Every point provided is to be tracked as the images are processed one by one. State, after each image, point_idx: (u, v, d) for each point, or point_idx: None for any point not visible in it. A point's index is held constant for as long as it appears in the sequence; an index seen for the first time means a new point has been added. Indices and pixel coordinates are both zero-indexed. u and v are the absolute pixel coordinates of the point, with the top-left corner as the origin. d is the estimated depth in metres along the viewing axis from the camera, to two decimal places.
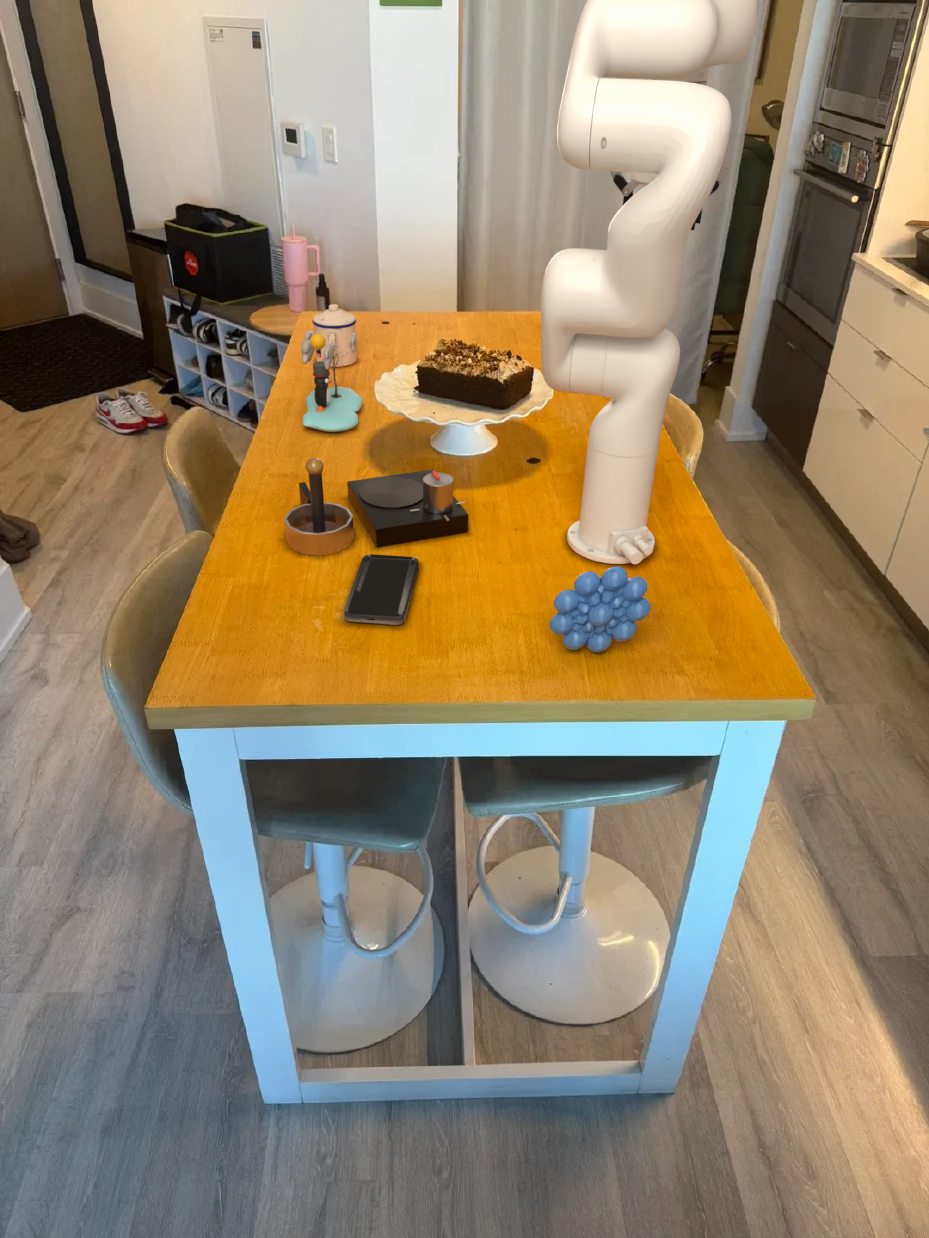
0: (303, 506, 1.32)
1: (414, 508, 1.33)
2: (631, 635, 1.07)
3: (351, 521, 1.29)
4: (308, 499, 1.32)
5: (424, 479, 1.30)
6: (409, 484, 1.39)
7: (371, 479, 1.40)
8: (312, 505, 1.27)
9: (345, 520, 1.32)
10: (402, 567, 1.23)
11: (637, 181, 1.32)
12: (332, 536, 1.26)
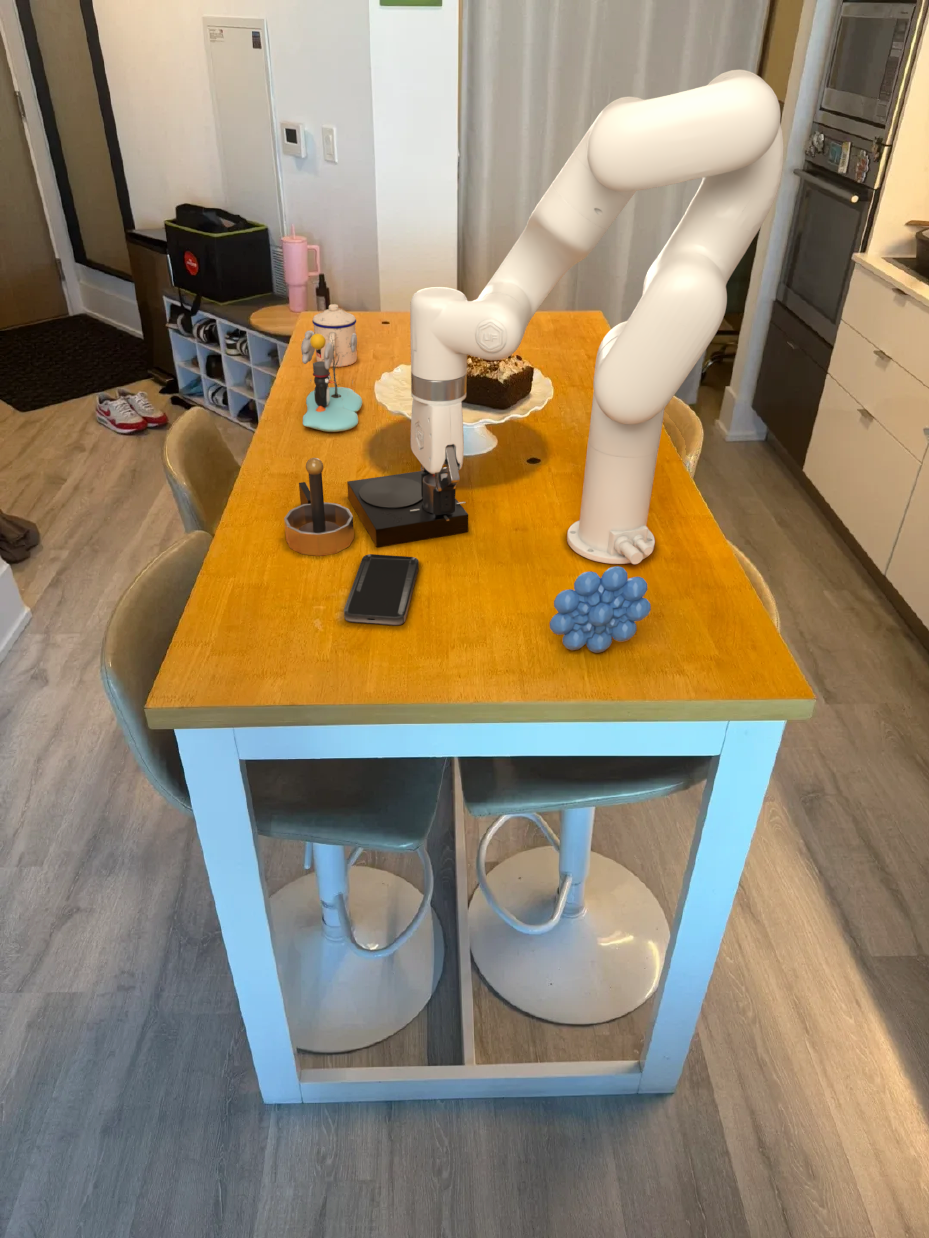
0: (303, 506, 1.32)
1: (414, 508, 1.33)
2: (631, 635, 1.07)
3: (351, 521, 1.29)
4: (308, 499, 1.32)
5: (424, 479, 1.30)
6: (409, 484, 1.39)
7: (371, 479, 1.40)
8: (312, 505, 1.27)
9: (345, 520, 1.32)
10: (402, 567, 1.23)
11: (412, 449, 1.31)
12: (332, 536, 1.26)
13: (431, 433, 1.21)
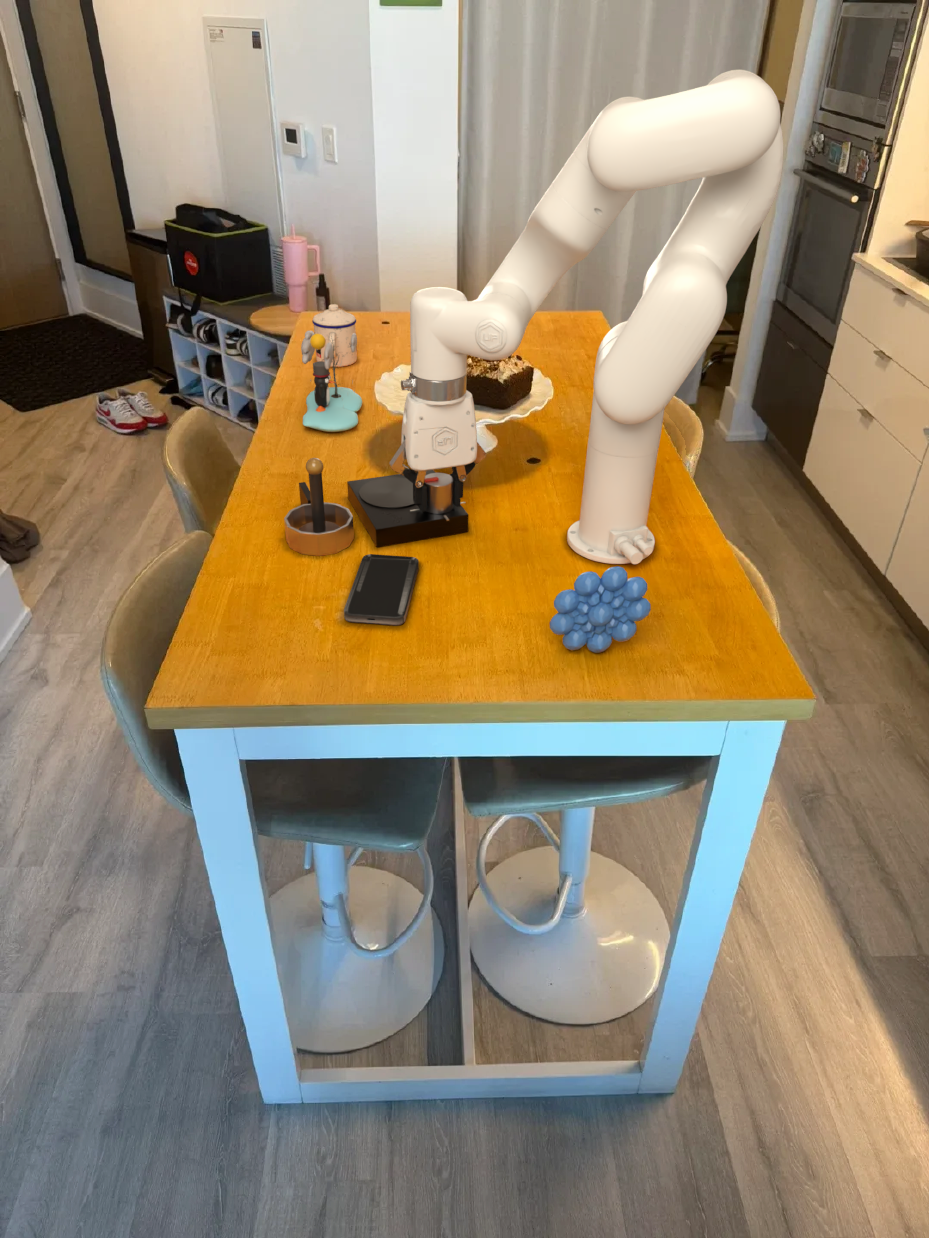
0: (303, 506, 1.32)
1: (414, 508, 1.33)
2: (631, 635, 1.07)
3: (351, 521, 1.29)
4: (308, 499, 1.32)
5: (439, 485, 1.29)
6: (409, 484, 1.39)
7: (371, 479, 1.40)
8: (312, 505, 1.27)
9: (345, 520, 1.32)
10: (402, 567, 1.23)
11: (417, 469, 1.26)
12: (332, 536, 1.26)
13: (473, 423, 1.25)
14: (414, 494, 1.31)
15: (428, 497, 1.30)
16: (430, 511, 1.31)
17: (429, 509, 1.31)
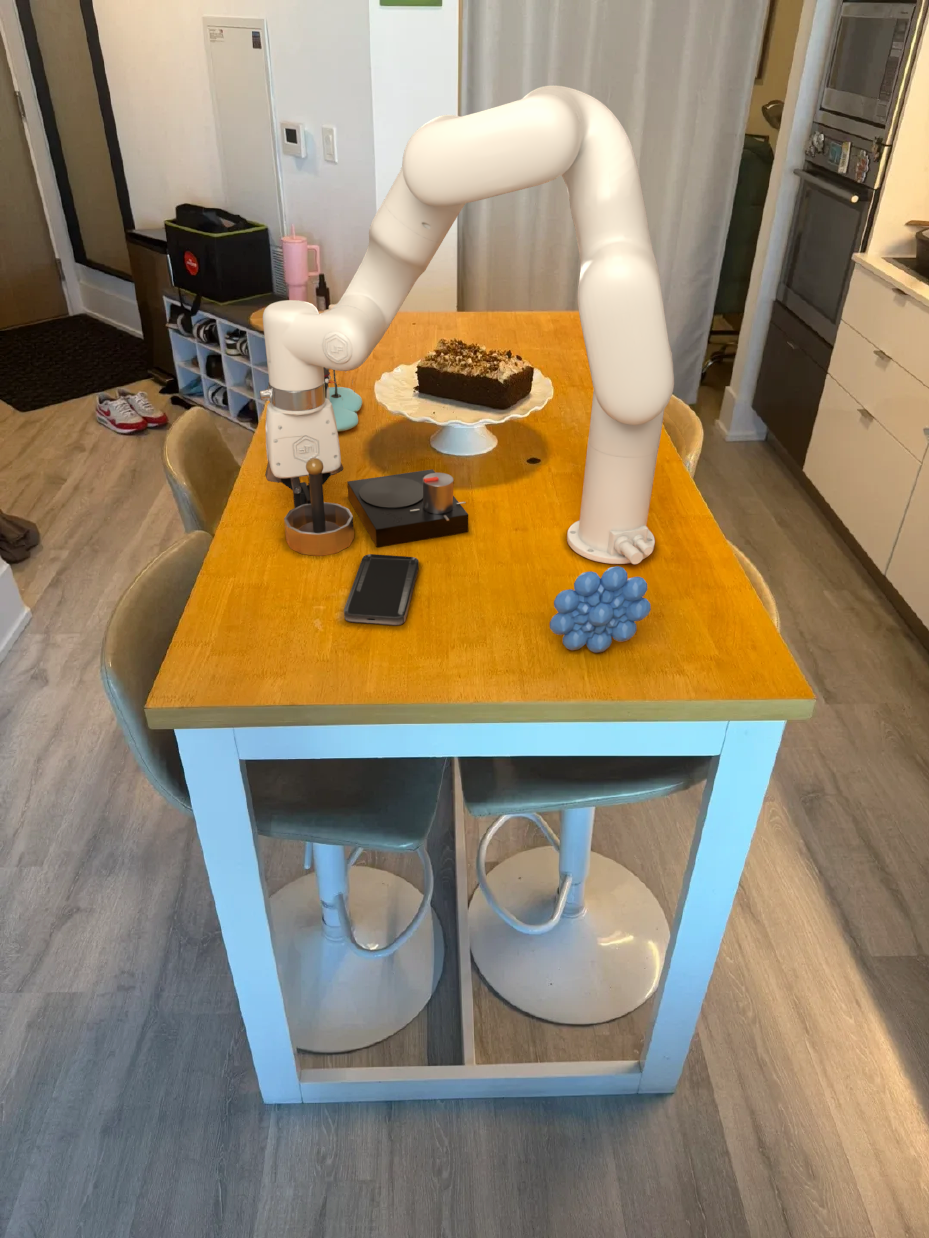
0: (303, 506, 1.32)
1: (414, 508, 1.33)
2: (631, 635, 1.07)
3: (351, 521, 1.29)
4: (308, 499, 1.32)
5: (439, 485, 1.29)
6: (409, 484, 1.39)
7: (371, 479, 1.40)
8: (312, 505, 1.27)
9: (345, 520, 1.32)
10: (402, 567, 1.23)
11: (280, 477, 1.29)
12: (332, 536, 1.26)
13: (334, 431, 1.28)
14: (294, 500, 1.35)
15: (428, 497, 1.30)
16: (430, 511, 1.31)
17: (429, 509, 1.31)
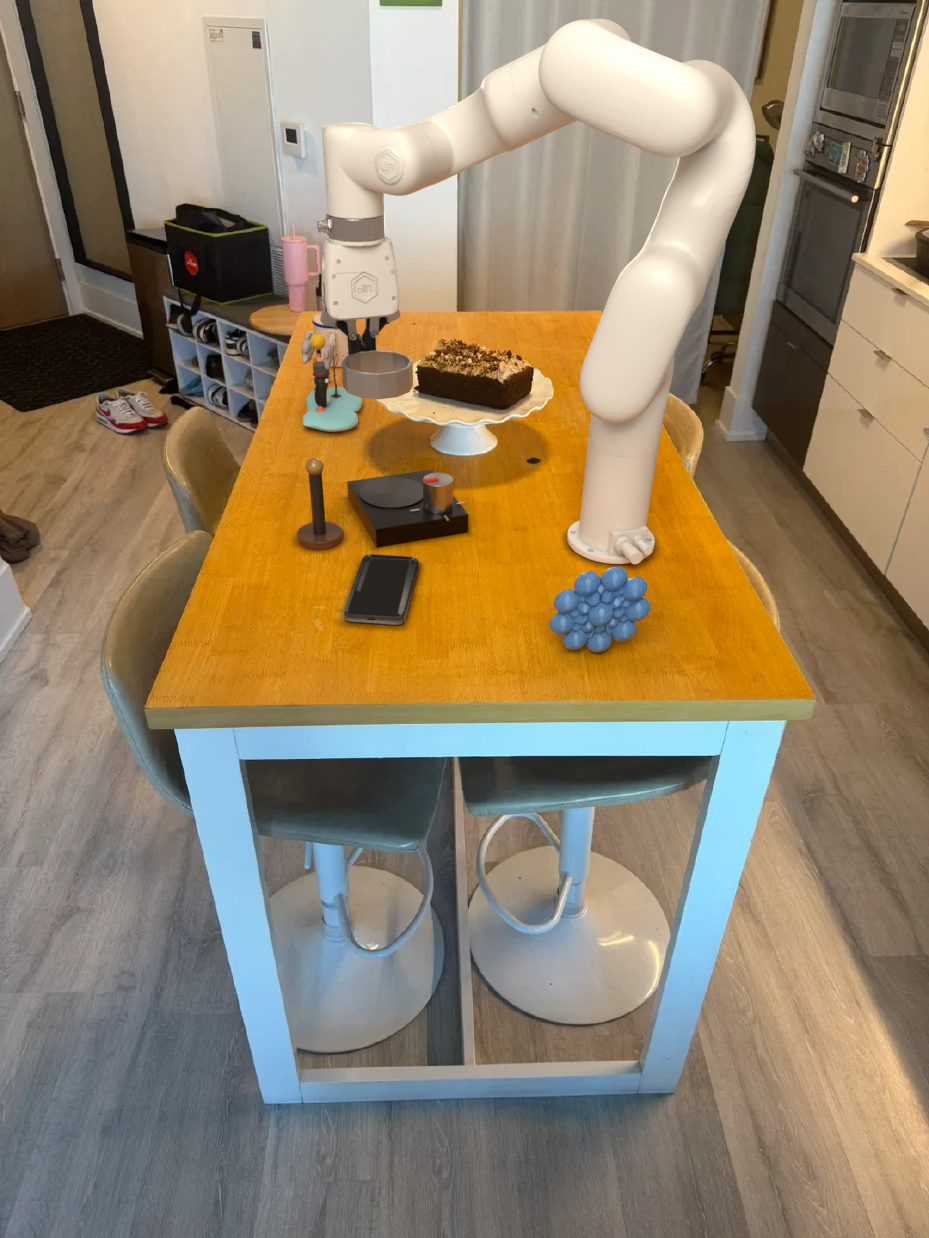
0: (359, 353, 1.27)
1: (414, 508, 1.33)
2: (631, 635, 1.07)
3: (411, 365, 1.24)
4: (364, 346, 1.27)
5: (439, 485, 1.29)
6: (409, 484, 1.39)
7: (371, 479, 1.40)
8: (312, 505, 1.27)
9: None
10: (402, 567, 1.23)
11: (337, 318, 1.24)
12: (393, 377, 1.21)
13: (393, 269, 1.23)
14: (349, 349, 1.29)
15: (428, 497, 1.30)
16: (430, 511, 1.31)
17: (429, 509, 1.31)
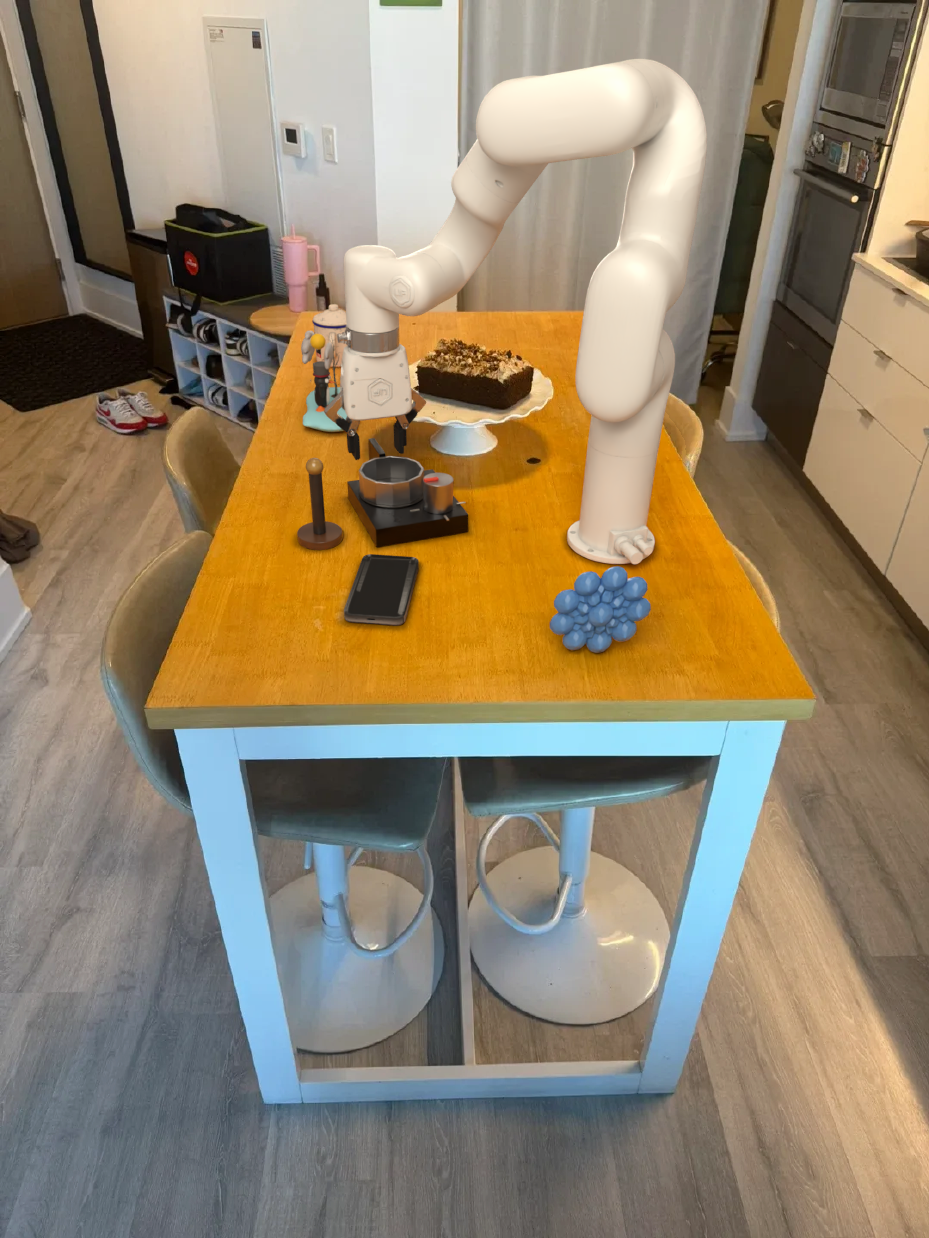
0: (375, 459, 1.38)
1: (414, 508, 1.33)
2: (631, 635, 1.07)
3: (422, 473, 1.35)
4: (379, 453, 1.38)
5: (439, 485, 1.29)
6: None
7: None
8: (312, 505, 1.27)
9: (415, 473, 1.38)
10: (402, 567, 1.23)
11: (355, 419, 1.34)
12: (406, 486, 1.32)
13: (406, 375, 1.33)
14: (348, 443, 1.38)
15: (428, 497, 1.30)
16: (430, 511, 1.31)
17: (429, 509, 1.31)
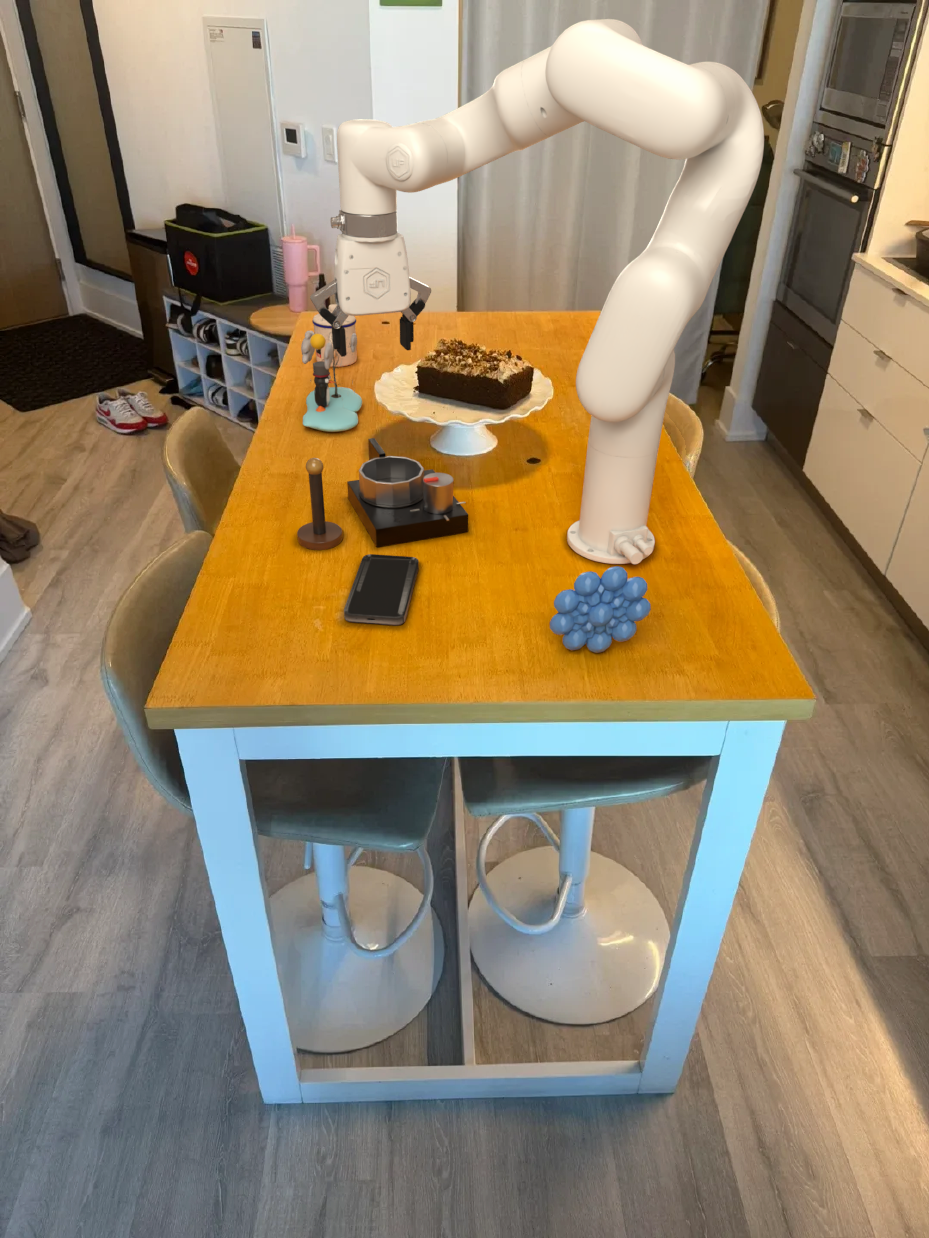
0: (375, 459, 1.38)
1: (414, 508, 1.33)
2: (631, 635, 1.07)
3: (422, 473, 1.35)
4: (379, 453, 1.38)
5: (439, 485, 1.29)
6: None
7: None
8: (312, 505, 1.27)
9: (415, 473, 1.38)
10: (402, 567, 1.23)
11: (349, 313, 1.25)
12: (406, 486, 1.32)
13: (405, 265, 1.24)
14: (333, 338, 1.29)
15: (428, 497, 1.30)
16: (430, 511, 1.31)
17: (429, 509, 1.31)
